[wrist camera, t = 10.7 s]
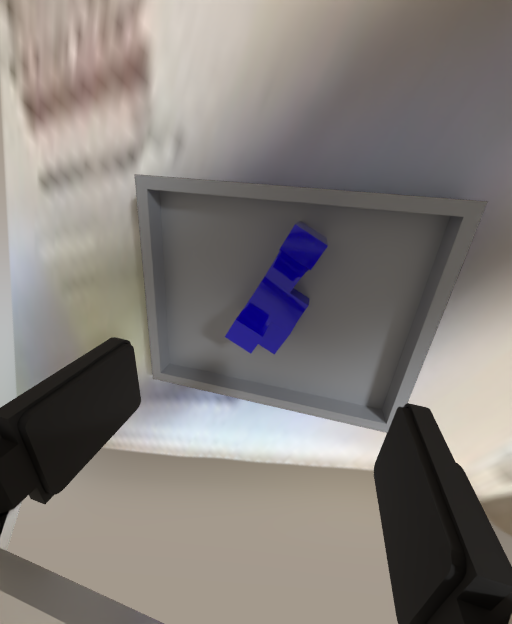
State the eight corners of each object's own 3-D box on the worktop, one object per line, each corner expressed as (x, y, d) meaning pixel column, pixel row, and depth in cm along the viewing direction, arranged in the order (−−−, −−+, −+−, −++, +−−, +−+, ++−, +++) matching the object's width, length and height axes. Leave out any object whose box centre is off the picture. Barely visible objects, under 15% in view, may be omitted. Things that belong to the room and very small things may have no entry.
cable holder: (279, 338, 20) (270, 366, 17) (242, 313, 20) (224, 336, 17) (345, 250, 17) (352, 261, 13) (300, 220, 17) (295, 224, 13)
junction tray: (463, 202, 15) (487, 201, 13) (386, 410, 21) (394, 434, 19) (156, 178, 19) (134, 174, 17) (167, 363, 25) (152, 378, 23)
